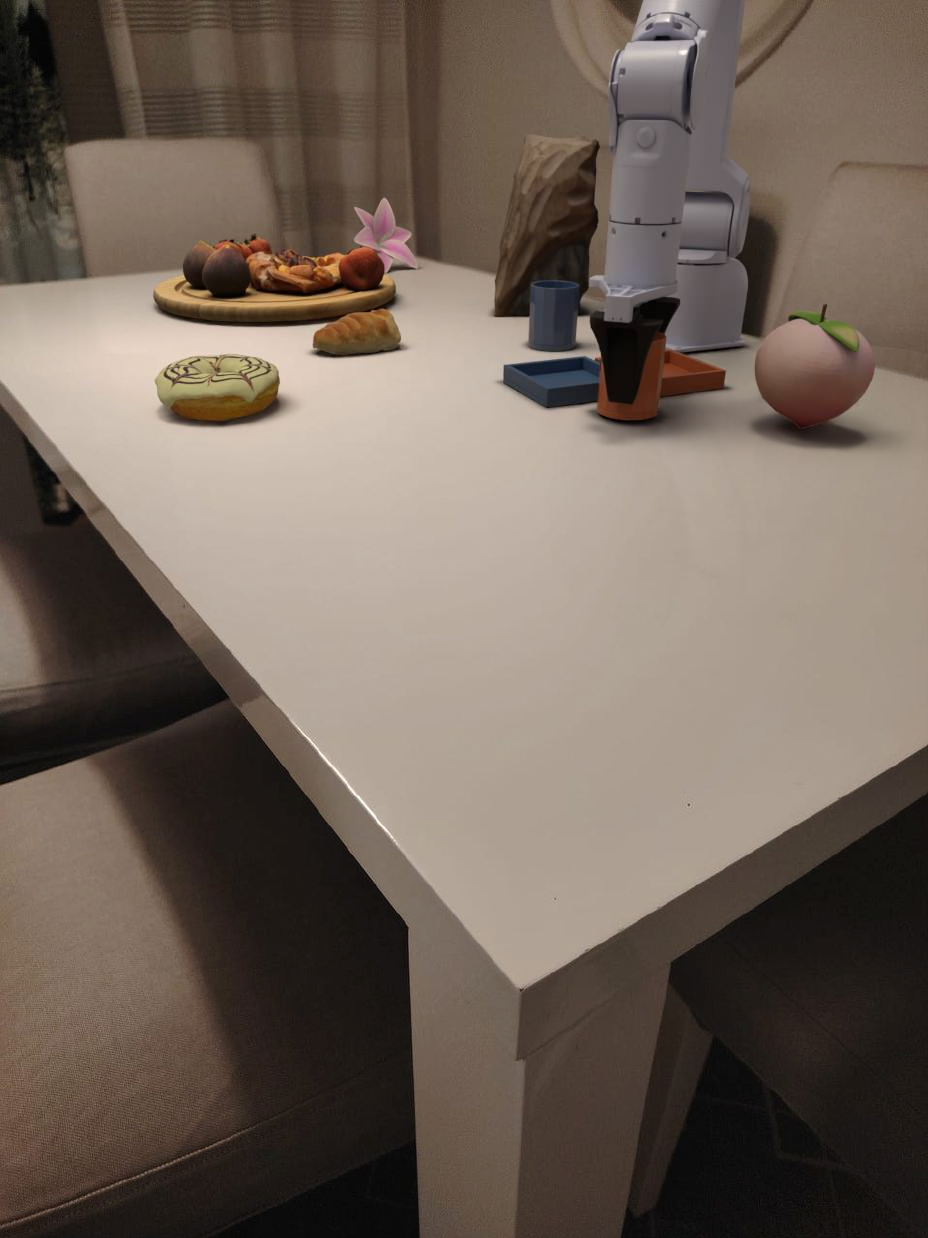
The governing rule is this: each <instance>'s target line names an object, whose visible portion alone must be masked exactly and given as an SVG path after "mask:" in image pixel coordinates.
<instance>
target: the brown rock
mask: <svg viewBox="0 0 928 1238" xmlns="http://www.w3.org/2000/svg"><path fill="white" fill-rule="evenodd" d="M522 145H523V146H522V149H521V151H520V155H519V159H518V161H517V165H516V168H515V171H514V174H513V183H512V188H511V192H510V196H509V202H508V207H507V211H506V216H505V220H504V225H503V229H502V233H501V237H500V241H499V242H500V244H499V257H498V258H499V259H498V266H497V268H496V275H495V277H494V301H493V302H494V314H493V316H494V317H529V310H530V284H531V283H533V282H535V281H544V280H562V281H570V282H575V283H578V284H579V299H578V314H577V316H579V315H580V316H581V315H584V314H585V312H584V311H583V310H582V307H581V300H582V298H583V296H584V294H585V293H587V292H588V290H589V288H590V287H589V281H590V273H589V272H590V248H591V247H590V246H591V243H592V238H593V237H594V235H595V233H596V231H597V229H598V227H599V226H598V224H599V222H600V221H599V210H598V208H597V207H596V205H595V199H596V184H597V173H598V172H597V157H598V152H599V150H600V148H601V145H600V141H599V140H597V139H596V138H594V139H592V140H590V139H588V138H587V137H586V136H585V135H584V136H576V137H570V138H568V137H562V138H557V137H549V136H545V135H543V134H534V133H527V134H525V136H524V138H523V144H522Z"/></svg>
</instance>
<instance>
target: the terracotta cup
mask: <svg viewBox="0 0 928 1238" xmlns="http://www.w3.org/2000/svg"><path fill="white" fill-rule="evenodd" d="M666 338H667V337H666V335H665V334H664V333H661V332H659V331H658V332H657V334H656V336H655V338H654V340H653V342H652V344H651V347H650V349H649V352H648V355H647V358H646V361H645V365H644V369H643V373H642V377H641V382H640V386H639V389H638V393H637V396H636V398H635V400H634V402H633V404H625V403H616V402H609V401H608V397H607V391H606V385H605V376H604V369H603V362H602V357H601V356H599V357H600V370H599V383H598V396H597V401H596V402H597V406H596V411H597V413H598V414H600V415H601V416H603V417H605V418H610V419H614V420H621V421H642V420H648V419H652V418H654V417H656V416H657V415H658V412H659V408H660V402H661V401H660V399H661V396H660V392H661V383H662V374H663V365H664V356H665V347H666Z"/></svg>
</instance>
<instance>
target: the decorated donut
mask: <svg viewBox="0 0 928 1238" xmlns="http://www.w3.org/2000/svg"><path fill="white" fill-rule="evenodd" d="M280 380H281V379H280V371H279V369H278V368H277V366H276V365H275V364H274V363H271V362H270V361H266V360H264V359H262V358H260V357H258V356H257V357H255V356H249V355H244V354H238V353H237V354H236V353H225V354H216V355H194V356H189V357H186V358H183V359H180V360H176V361H174V362H171V363H170V364H167V365H166V366H165V367H163V368H162V369H160V371H159V373H158V375H157V376H156V377H155V378H154V383H155V385H156V390H157V391H156V394H157V397H158V399H159V402H160V403H161V404H162V405H163V406H165V407H166V408H168V409H170V410H171V411H173V412H175V413H177V414H178V415H180V417H181V418H183V419H186V420H187V419H188V420H189V419H192V420H197V421H205V422H206V421H216V422H224V421H227V420H235V419H239V418H243V417H248V416H252V415H253V414H259V413H262V412H263V411H264V410H265V409H266V408H267V409H268V407H269V406H270V405H271V404H272V403H273V402H274V401H275V400H276V399H277V397H278V393H279V387H280V385H281V381H280Z"/></svg>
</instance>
